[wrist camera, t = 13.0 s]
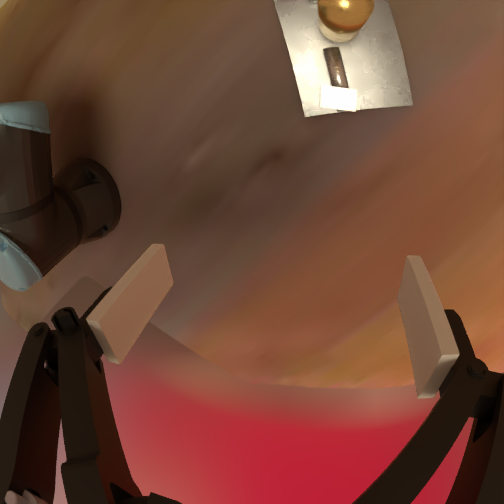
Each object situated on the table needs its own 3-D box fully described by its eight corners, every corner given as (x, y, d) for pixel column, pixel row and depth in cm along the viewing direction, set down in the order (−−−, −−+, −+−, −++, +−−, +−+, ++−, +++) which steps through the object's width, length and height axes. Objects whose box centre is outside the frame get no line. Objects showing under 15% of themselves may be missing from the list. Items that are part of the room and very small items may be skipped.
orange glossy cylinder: (319, 41, 29) (319, 22, 20) (316, 6, 26) (314, -24, 17) (360, 43, 28) (376, 26, 18) (357, 8, 25) (370, -21, 16)
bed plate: (410, 104, 31) (421, 107, 27) (305, 116, 35) (303, 119, 31) (365, -49, 21) (370, -62, 17) (261, -36, 25) (254, -48, 21)
